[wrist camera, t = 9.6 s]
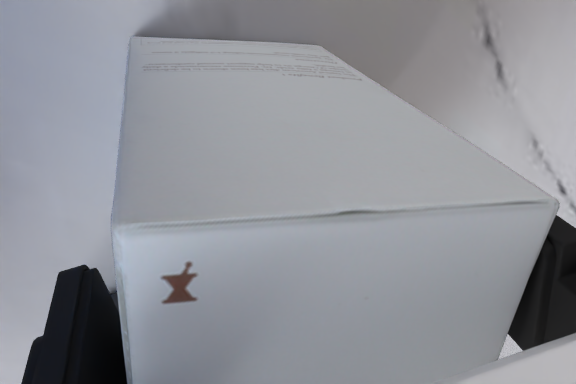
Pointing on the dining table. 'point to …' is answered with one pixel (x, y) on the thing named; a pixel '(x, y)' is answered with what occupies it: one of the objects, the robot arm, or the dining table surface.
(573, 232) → the robot arm
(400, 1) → the dining table surface
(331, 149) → the white packaging box
